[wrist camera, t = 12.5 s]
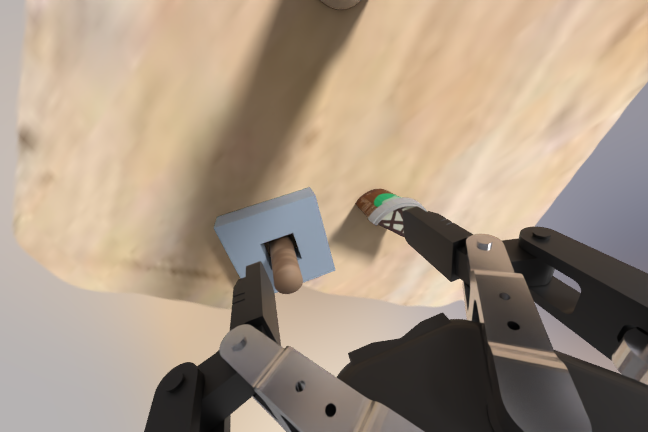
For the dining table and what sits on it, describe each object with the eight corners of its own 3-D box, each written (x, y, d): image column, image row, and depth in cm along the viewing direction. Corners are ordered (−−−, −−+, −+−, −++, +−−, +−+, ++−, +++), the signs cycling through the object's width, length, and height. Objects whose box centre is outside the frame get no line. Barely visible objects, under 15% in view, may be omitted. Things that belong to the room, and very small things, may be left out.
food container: (412, 198, 48) (448, 219, 39) (395, 223, 49) (426, 249, 41) (366, 171, 43) (396, 189, 34) (349, 200, 44) (373, 224, 35)
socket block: (309, 187, 41) (315, 194, 37) (329, 258, 49) (335, 270, 45) (216, 216, 39) (213, 228, 35) (252, 286, 46) (252, 301, 43)
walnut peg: (287, 226, 43) (298, 267, 33) (293, 244, 45) (306, 287, 34) (265, 234, 42) (270, 277, 32) (273, 251, 44) (279, 297, 34)
